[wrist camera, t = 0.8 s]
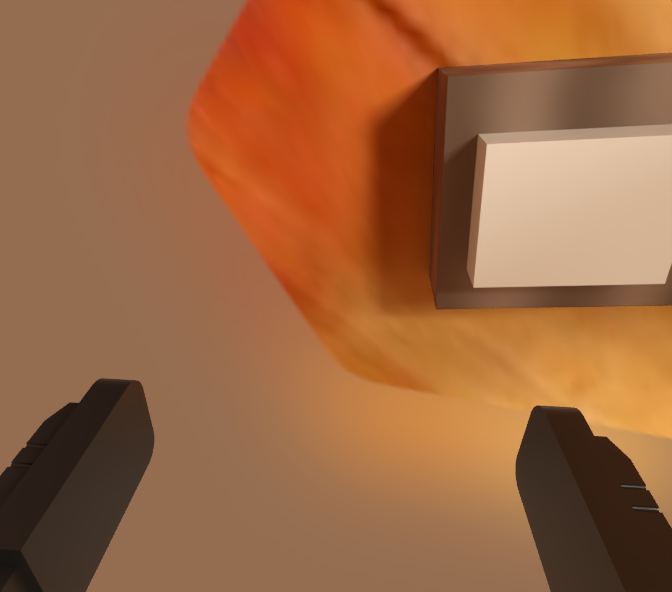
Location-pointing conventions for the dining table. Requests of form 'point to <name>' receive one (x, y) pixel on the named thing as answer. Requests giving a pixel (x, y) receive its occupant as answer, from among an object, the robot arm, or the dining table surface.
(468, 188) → the block
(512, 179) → the tile
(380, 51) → the dining table surface
